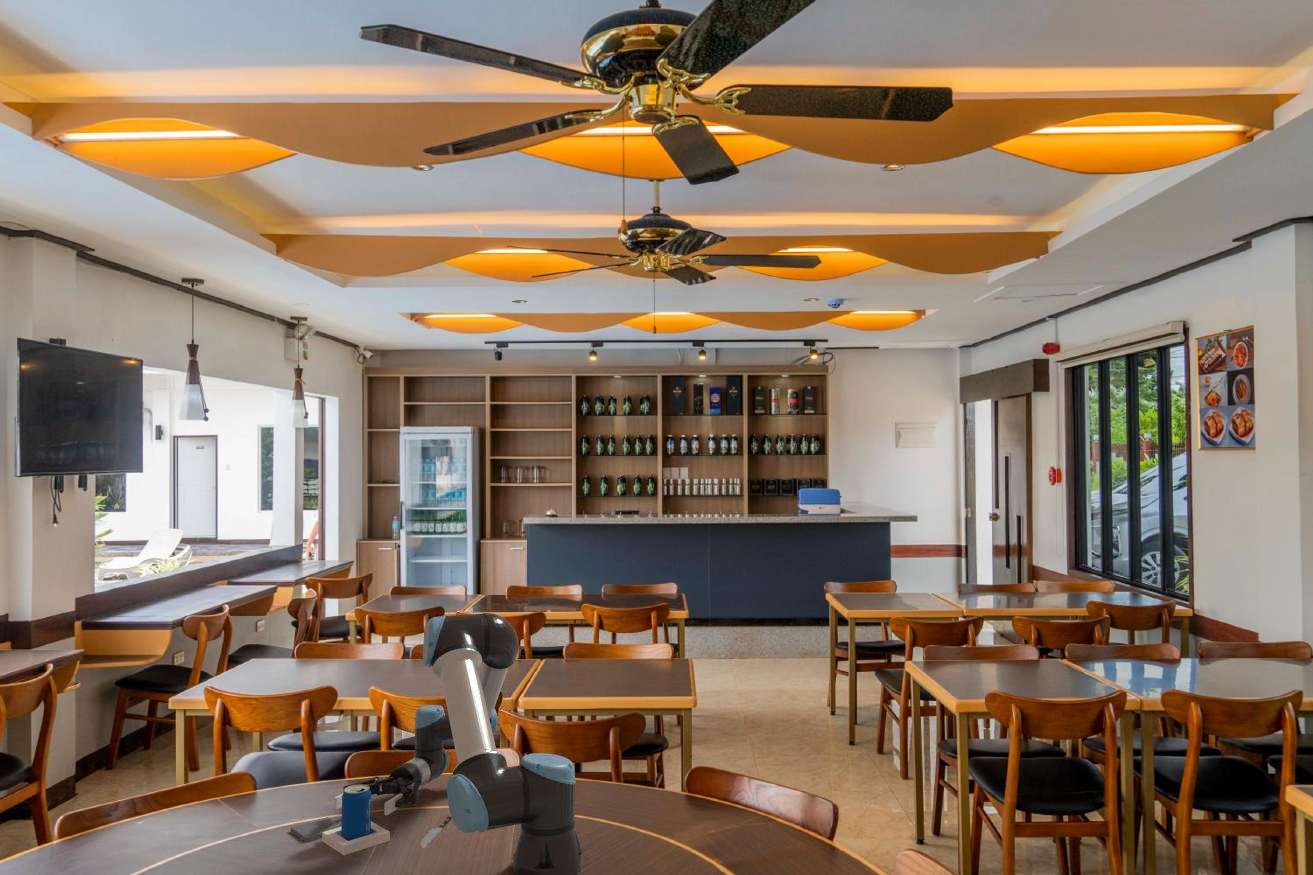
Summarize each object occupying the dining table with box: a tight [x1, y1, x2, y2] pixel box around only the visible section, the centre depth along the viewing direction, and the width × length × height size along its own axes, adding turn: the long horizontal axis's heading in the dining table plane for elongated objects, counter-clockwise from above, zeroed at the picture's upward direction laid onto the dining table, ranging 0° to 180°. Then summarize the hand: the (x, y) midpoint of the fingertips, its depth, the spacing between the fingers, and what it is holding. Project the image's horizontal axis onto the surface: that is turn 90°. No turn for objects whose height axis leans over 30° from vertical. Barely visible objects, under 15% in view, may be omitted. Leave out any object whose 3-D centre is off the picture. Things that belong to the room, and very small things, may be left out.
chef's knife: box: [420, 815, 452, 849], centre depth 203 cm, size 19×1×3 cm
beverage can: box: [341, 784, 372, 841], centre depth 199 cm, size 6×6×12 cm
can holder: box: [321, 820, 391, 856], centre depth 198 cm, size 11×11×2 cm
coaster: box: [290, 817, 342, 843], centre depth 204 cm, size 9×9×1 cm
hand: (360, 806), depth 201 cm, fingers open, 13 cm apart
